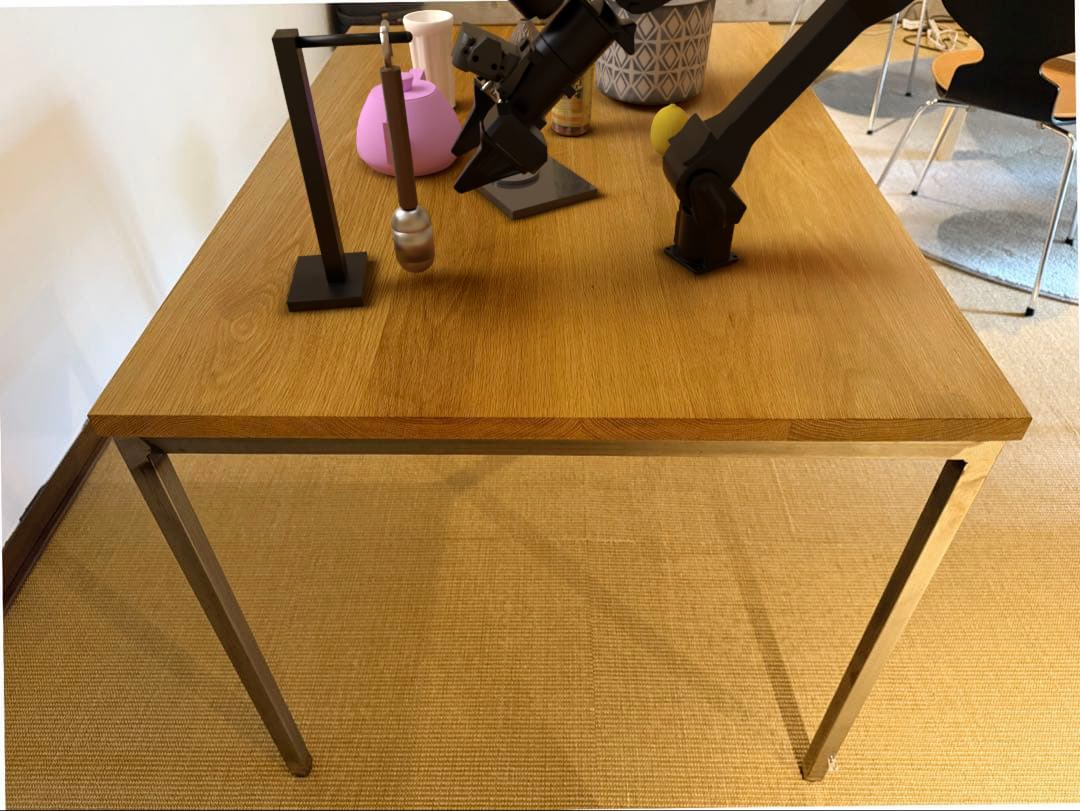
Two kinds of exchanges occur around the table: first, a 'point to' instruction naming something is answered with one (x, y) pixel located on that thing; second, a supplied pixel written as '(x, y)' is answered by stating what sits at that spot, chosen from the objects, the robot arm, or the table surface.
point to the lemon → (666, 127)
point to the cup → (433, 48)
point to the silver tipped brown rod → (404, 172)
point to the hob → (538, 190)
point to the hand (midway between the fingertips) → (455, 171)
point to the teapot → (410, 127)
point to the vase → (523, 31)
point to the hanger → (320, 179)
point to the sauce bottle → (575, 107)
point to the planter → (659, 55)
